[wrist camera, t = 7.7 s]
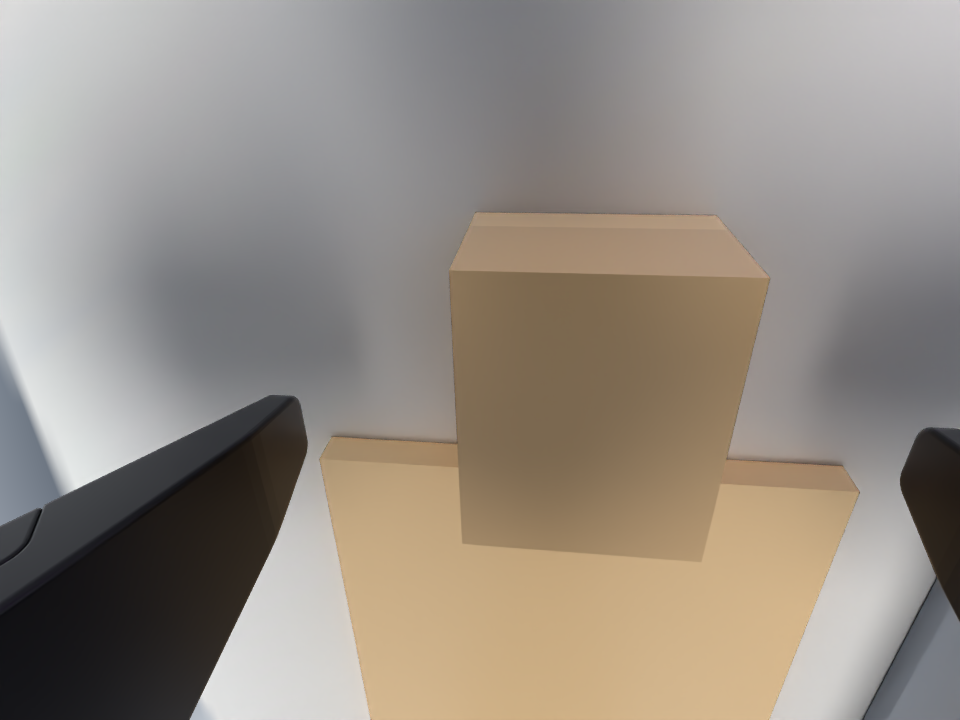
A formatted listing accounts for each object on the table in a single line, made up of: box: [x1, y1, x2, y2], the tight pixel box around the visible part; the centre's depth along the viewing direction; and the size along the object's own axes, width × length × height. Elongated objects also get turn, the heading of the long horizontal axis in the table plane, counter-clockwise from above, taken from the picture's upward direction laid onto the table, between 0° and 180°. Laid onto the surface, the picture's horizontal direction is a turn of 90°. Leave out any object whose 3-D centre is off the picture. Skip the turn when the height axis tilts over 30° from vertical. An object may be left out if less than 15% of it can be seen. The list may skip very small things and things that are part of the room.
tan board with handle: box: [319, 212, 860, 720], centre depth 13 cm, size 20×11×3 cm, turn 1°
